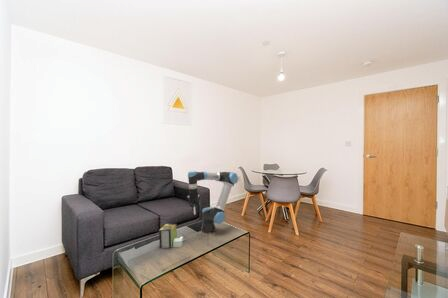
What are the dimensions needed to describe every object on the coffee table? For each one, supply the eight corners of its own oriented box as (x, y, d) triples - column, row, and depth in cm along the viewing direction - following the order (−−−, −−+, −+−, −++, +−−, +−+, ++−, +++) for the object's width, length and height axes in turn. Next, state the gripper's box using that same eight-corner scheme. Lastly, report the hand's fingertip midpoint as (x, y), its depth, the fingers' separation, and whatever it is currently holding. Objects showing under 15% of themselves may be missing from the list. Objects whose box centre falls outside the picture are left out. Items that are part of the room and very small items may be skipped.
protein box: (176, 240, 190) (176, 223, 191) (171, 248, 175) (170, 229, 175) (166, 240, 191) (165, 223, 192) (159, 248, 176) (158, 229, 176)
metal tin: (178, 239, 192) (178, 235, 192) (185, 239, 193) (185, 234, 193) (177, 242, 186) (177, 238, 186) (184, 242, 187) (184, 237, 187)
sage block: (174, 243, 184) (174, 238, 184) (182, 243, 184) (182, 237, 184) (173, 247, 177) (173, 241, 177) (181, 246, 177) (181, 241, 177)
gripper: (185, 189, 182) (187, 216, 182) (200, 188, 184) (202, 214, 184) (186, 188, 189) (187, 213, 189) (200, 186, 191) (201, 212, 191)
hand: (194, 214), depth 187 cm, fingers closed
